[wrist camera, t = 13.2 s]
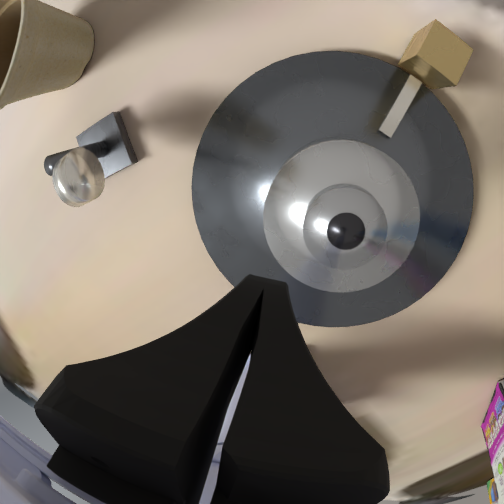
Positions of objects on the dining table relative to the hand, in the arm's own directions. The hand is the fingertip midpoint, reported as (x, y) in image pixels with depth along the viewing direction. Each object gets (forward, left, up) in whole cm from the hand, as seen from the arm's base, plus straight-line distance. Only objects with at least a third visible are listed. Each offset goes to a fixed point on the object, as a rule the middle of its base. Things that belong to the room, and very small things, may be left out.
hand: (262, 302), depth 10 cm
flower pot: (+18, +12, -10) cm, 24 cm away
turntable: (+1, -4, -9) cm, 10 cm away
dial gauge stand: (+8, +11, -10) cm, 17 cm away
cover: (0, -3, -9) cm, 9 cm away
